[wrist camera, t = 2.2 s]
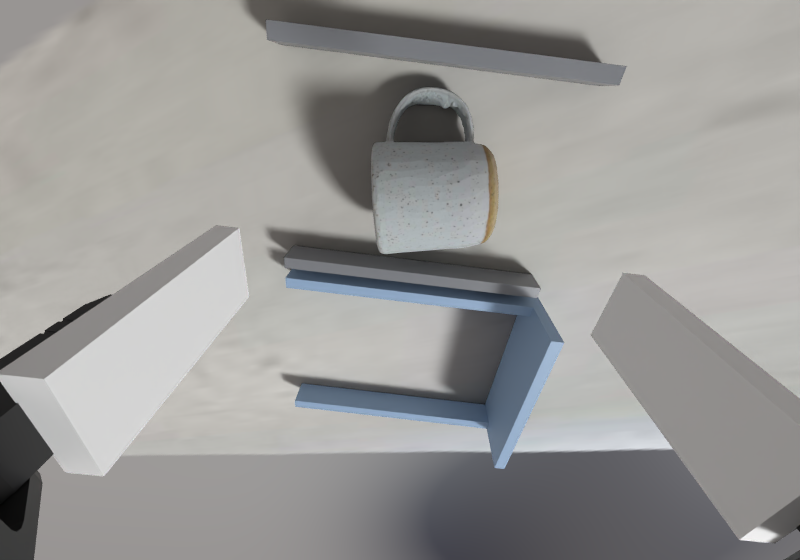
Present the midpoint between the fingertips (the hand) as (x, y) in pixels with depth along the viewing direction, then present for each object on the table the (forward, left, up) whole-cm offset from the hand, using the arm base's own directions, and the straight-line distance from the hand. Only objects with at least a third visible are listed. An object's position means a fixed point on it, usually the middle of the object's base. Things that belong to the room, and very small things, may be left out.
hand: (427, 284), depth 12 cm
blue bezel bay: (0, +18, -17) cm, 25 cm away
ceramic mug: (0, -1, -17) cm, 17 cm away
